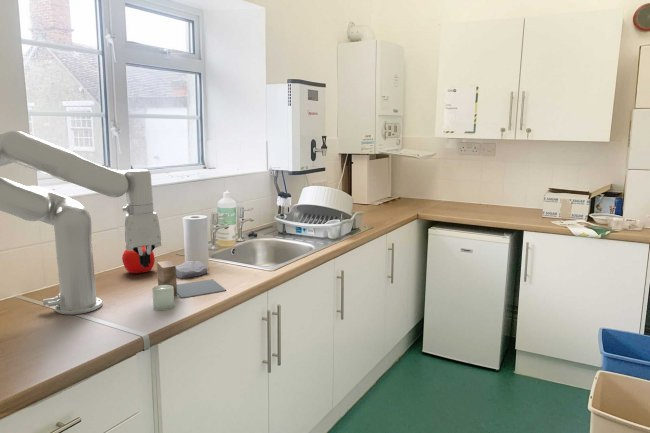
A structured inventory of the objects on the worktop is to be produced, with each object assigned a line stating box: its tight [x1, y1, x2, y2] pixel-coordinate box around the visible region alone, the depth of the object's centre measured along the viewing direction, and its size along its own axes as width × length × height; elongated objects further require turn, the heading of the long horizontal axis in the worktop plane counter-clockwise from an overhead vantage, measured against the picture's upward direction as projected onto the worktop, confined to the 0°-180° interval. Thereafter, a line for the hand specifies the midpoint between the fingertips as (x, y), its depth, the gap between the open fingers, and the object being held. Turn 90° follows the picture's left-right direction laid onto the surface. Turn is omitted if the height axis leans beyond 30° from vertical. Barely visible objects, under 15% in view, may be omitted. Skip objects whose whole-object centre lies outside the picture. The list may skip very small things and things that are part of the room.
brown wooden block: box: [156, 260, 178, 298], centre depth 161 cm, size 4×8×10 cm, turn 31°
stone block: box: [175, 260, 208, 279], centre depth 184 cm, size 12×5×10 cm
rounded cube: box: [152, 285, 175, 311], centre depth 150 cm, size 6×6×6 cm
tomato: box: [121, 246, 156, 274], centre depth 185 cm, size 11×12×10 cm
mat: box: [177, 278, 227, 299], centre depth 167 cm, size 15×14×1 cm
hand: (145, 266), depth 157 cm, fingers closed
